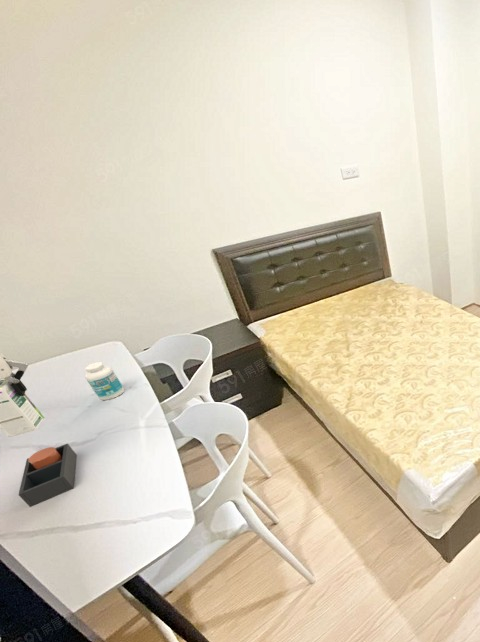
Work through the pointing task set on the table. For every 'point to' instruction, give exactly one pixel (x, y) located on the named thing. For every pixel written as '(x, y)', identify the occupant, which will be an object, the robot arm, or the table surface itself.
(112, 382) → the pill bottle
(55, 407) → the table surface
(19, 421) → the syrup box
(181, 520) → the table surface
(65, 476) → the holder
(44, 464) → the orange faceted barrel
